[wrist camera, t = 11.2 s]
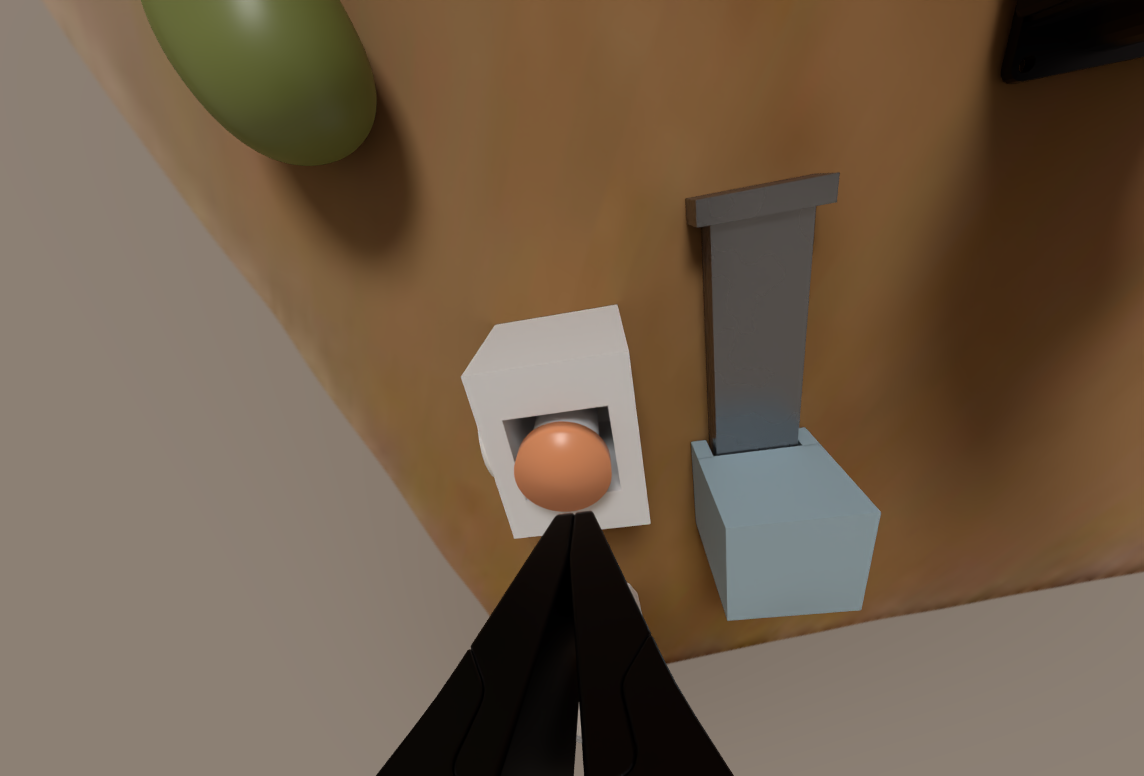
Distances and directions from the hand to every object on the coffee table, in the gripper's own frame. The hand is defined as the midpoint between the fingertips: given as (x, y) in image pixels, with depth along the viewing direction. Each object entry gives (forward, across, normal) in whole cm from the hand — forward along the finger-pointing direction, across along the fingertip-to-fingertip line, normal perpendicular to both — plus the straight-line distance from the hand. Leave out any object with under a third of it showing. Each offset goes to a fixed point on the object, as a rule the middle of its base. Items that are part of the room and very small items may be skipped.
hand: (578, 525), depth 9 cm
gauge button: (+11, +1, +2) cm, 11 cm away
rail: (+12, -8, +5) cm, 15 cm away
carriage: (+12, -8, +10) cm, 17 cm away
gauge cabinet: (+12, +1, +2) cm, 13 cm away
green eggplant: (+12, +9, -14) cm, 21 cm away
